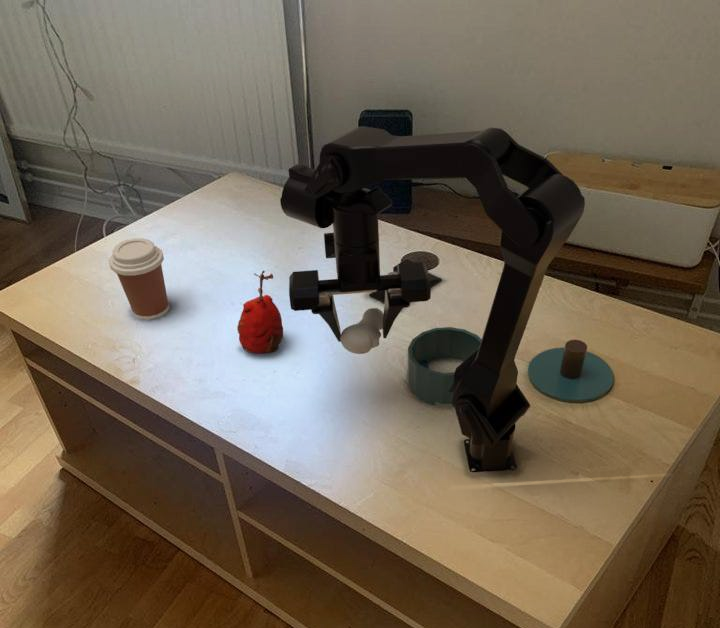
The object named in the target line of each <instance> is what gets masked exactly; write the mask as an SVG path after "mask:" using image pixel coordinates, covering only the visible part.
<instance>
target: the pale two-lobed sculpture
mask: <svg viewBox="0 0 720 628" xmlns="http://www.w3.org/2000/svg"><path fill="white" fill-rule="evenodd" d="M383 314H384V311H382V309H380V308H378V307H371V308H368V309H366V310H365V311H364V313H363V315H362V318H361V319H360V320H359V322H357V323H355V324H351V325H349V326H347V327H345V328H343V330H342V331H341V337H340V340H341V342H340V343H341V345H342V347H343V348H344V349H345V350H346V351H348V353H349V352H350V353H352V354H355V355H363V354H368V353H370V351H371V350H372V349H375V348H377V347H378V346H379V345H380V338H381V337H382V332H381V330H383V327H382V324H383Z"/></svg>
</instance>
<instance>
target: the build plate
mask: <svg viewBox="0 0 720 628" xmlns="http://www.w3.org/2000/svg"><path fill="white" fill-rule="evenodd" d="M404 263H415V262H414V261H412V260H410V259H407V258H406V259H404V260H403V261H400V263H398V264H404ZM398 264H396V265H395V266H393V267H392V272H398ZM428 274H429V278H430V284H431V289H432V288H433V287H435V286H436V285H438V284H439V283H441V282H442V280H443V279H442V277H439V276H437V275H434V274H433V273H430V272H428ZM368 297H369V298H371V299H373V300H376V301H377V302H379V303H382V304H385V290H384V291H377V292H369V294H368Z"/></svg>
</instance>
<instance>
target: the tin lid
mask: <svg viewBox="0 0 720 628" xmlns="http://www.w3.org/2000/svg"><path fill="white" fill-rule="evenodd" d="M527 377H528V380H529V382H530V384H531V385H532V386H533V388H535V390H537V392H539V393H541V394H542V395H544V396H545V397H547V398H550V399H553V400H555V401H559V402H564V403H573V404H575V403H576V404H577V403H579V404H580V403H589V402H592V401H596V400H598V399H601V398H602V397H604V396H605V395H606V394H607V393H608V392H609V391H610V390H611V388H612V387H613V383H614V372H613V370H612V368H611V366H610V365H609V363H608V362H606V361H605V360H604V359H603V358H602V357H600V356H598V355H597V354H595V353H593V352H590V351H588V344H587V343H586V342H585V341H583V340H580V339H570V340H568V341H566V342H565V344H564V347H554V348H550V349H546V350H544V351H541V352H540V353H537V354H536V355H535V356H533V358H532V359H531V360H530V362H529V364H528V368H527Z"/></svg>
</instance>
